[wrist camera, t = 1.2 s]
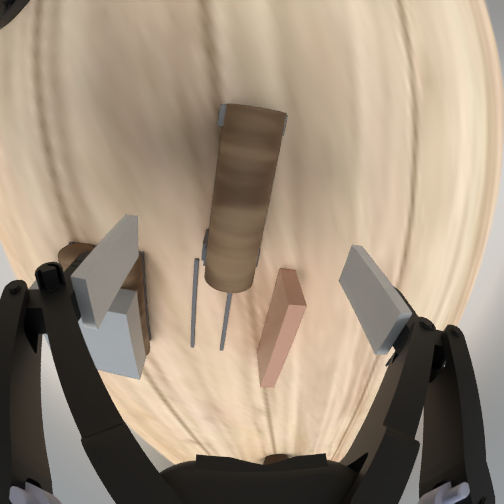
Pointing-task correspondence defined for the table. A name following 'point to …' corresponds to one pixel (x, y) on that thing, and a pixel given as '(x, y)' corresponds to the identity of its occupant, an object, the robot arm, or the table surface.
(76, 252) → the roller
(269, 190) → the roller
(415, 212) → the table surface
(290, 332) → the block
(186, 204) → the table surface
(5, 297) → the robot arm
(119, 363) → the slab
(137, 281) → the roller
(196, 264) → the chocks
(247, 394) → the table surface
